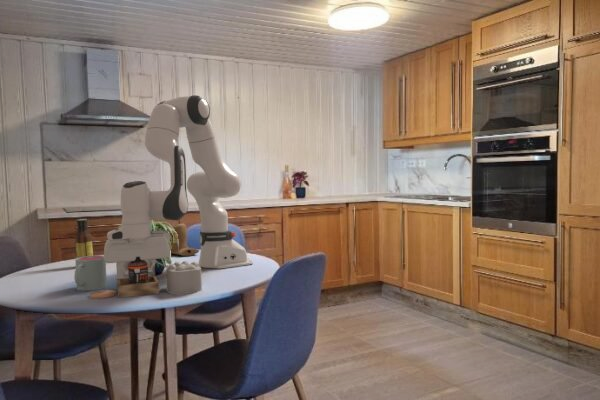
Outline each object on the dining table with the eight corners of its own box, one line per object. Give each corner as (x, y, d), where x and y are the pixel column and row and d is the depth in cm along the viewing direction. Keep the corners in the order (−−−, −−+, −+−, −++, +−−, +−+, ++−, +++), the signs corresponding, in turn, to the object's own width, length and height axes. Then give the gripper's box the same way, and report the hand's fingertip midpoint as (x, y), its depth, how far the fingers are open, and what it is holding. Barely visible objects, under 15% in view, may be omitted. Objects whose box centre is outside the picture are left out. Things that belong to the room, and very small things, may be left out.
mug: (86, 283, 162) (85, 255, 161) (111, 284, 161) (110, 255, 160) (62, 293, 148) (61, 263, 148) (89, 294, 147) (88, 263, 147)
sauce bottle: (92, 264, 199) (90, 218, 198) (94, 266, 193) (93, 219, 192) (75, 266, 195) (73, 219, 194) (77, 268, 190) (75, 220, 189)
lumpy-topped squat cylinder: (172, 295, 145) (171, 267, 144) (163, 286, 156) (162, 261, 156) (204, 290, 150) (204, 264, 149) (193, 283, 161) (192, 258, 161)
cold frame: (153, 282, 162) (152, 244, 161) (159, 293, 147) (157, 250, 147) (116, 286, 157) (115, 246, 157) (118, 297, 143) (117, 253, 142)
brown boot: (161, 254, 221) (160, 223, 221) (184, 251, 229) (183, 221, 228) (176, 258, 210) (175, 225, 209) (200, 255, 218) (199, 223, 217)
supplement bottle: (142, 292, 147) (140, 257, 146) (125, 292, 148) (123, 257, 147) (152, 287, 153) (150, 253, 152) (135, 287, 154) (133, 253, 153)
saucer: (115, 291, 150) (115, 288, 150) (116, 296, 144) (116, 294, 143) (89, 294, 147) (89, 291, 147) (89, 299, 140) (89, 297, 140)
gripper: (168, 228, 156) (169, 269, 157) (102, 232, 148) (104, 275, 149) (170, 230, 150) (172, 272, 151) (102, 235, 142) (104, 279, 143)
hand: (138, 274), depth 150 cm, fingers closed on supplement bottle, 6 cm apart
